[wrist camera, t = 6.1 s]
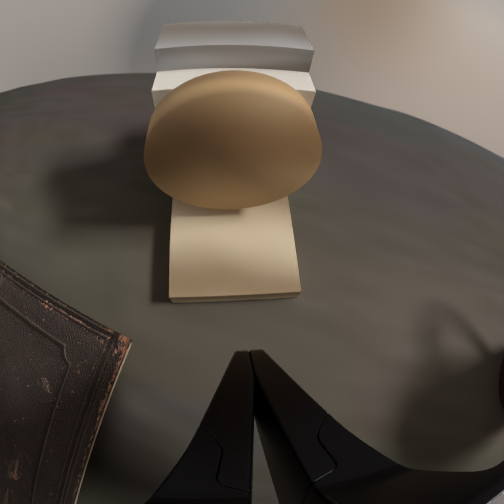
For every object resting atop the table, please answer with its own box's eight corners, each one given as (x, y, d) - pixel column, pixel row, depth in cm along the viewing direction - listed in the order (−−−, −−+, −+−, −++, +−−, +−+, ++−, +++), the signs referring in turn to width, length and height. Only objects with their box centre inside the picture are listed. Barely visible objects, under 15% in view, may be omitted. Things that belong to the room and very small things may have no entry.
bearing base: (296, 297, 17) (374, 201, 8) (172, 302, 16) (112, 206, 7) (272, 135, 22) (296, 17, 13) (180, 136, 21) (168, 16, 12)
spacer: (287, 182, 18) (315, 91, 12) (170, 184, 17) (151, 90, 11) (283, 162, 19) (308, 72, 12) (172, 164, 18) (157, 71, 11)
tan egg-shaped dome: (301, 208, 17) (345, 100, 10) (159, 212, 16) (125, 100, 9) (281, 108, 21) (300, 15, 13) (172, 110, 20) (161, 14, 12)
